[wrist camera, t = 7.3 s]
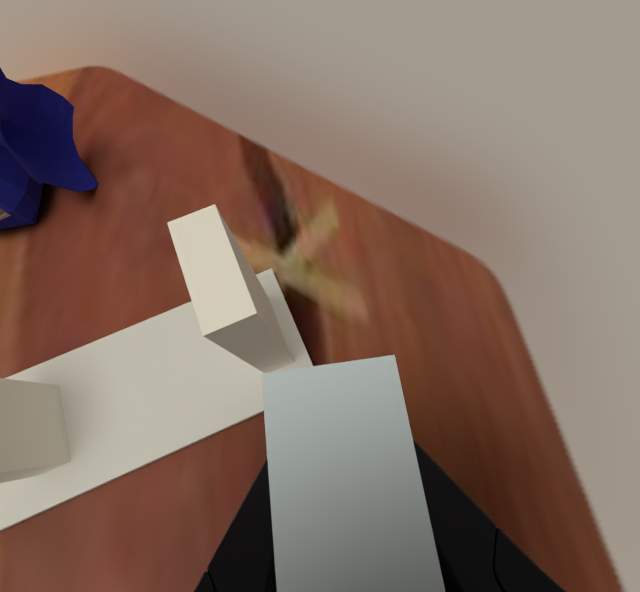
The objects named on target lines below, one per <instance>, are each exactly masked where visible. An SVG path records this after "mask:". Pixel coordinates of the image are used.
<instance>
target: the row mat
mask: <svg viewBox="0 0 640 592" xmlns="http://www.w3.org/2000/svg"><path fill="white" fill-rule="evenodd" d="M256 276H257V278H258V280H259V282H260V283H261V285H262V287H263V289H264V290H265V292H266V294H267V296H268V297H269V300H270V302H271V305H272V307H273V310H274V312H275V315H276V317H277V319H278V322H279V324H280V327H281V329H282V332H283V334H284V337H285V339H286V342H287V344H288V347H289V349H290V351H291V354H292V356H293V359H294V361H295V362H294V363H291V364H289V365H287V366H285V367H282V368H280V369H278V370H276V371H273V372H278V371H285V370H292V369H299V368H306V367H313V365H312V362H311V360H310V357H309V355H308V353H307V350H306V348H305V346H304V343H303V341H302V339H301V336H300V334H299V332H298V329H297V327H296V324H295V322H294V320H293V317H292V315H291V313H290V310H289V308H288V306H287V303H286V301H285V299H284V296H283V294H282V291H281V289H280V287H279V284H278V282H277V280H276V277H275V275H274V273H273V270H272V268H271V269H269V270H266V271H264V272H261V273H259V274H257V275H256ZM261 374H264V373H263V372H261V371H260V370H258V369H257V368H255V367H253V366H252V365H250V364H248V363H247V362H245V361H243V360H242V359H240V358H238V357H237V356H235V355H233V354H232V353H230V352H229V351H227V350H225V349H224V348H222V347H220V346H219V345H217V344H215V343H214V342H212V341H210V340H209V339H207V338H206V337H204V336H203V334H202V331H201V328H200V325H199V322H198V319H197V315H196V312H195V309H194V306H193V303H192V301H191V302H189V303H186V304H184V305H181V306H179V307H177V308H174V309H172V310H169V311H167V312H164V313H162V314H160V315H157V316H155V317H152V318H150V319H148V320H145V321H143V322H140V323H138V324H135V325H133V326H131V327H128V328H126V329H123V330H121V331H118V332H116V333H114V334H111V335H109V336H106V337H104V338H101V339H99V340H97V341H94V342H92V343H89V344H87V345H85V346H82V347H80V348H77V349H75V350H72V351H70V352H68V353H65V354H63V355H60V356H58V357H55V358H53V359H51V360H48V361H46V362H43V363H41V364H38V365H36V366H34V367H31V368H29V369H26V370H24V371H22V372H19V373H17V374H14V375H12V376H9V377H7V378H5V379H11V380H20V381H28V382H37V383H45V384H54V385H59V388H60V394H61V401H62V408H63V414H64V421H65V428H66V435H67V441H68V448H69V455H70V461H71V462H68V463H66V464H64V465H62V466H59V467H57V468H55V469H53V470H50V471H48V472H46V473H44V474H41V475H39V476H35V477H30V478H25V479H19V480H14V481H9V482H4V483H0V531H2V530H4V529H7V528H9V527H11V526H13V525H15V524H18V523H20V522H22V521H24V520H26V519H29V518H31V517H33V516H35V515H37V514H40V513H42V512H44V511H46V510H48V509H51V508H53V507H55V506H57V505H59V504H62V503H64V502H66V501H68V500H70V499H73V498H75V497H77V496H79V495H81V494H84V493H86V492H88V491H90V490H92V489H95V488H97V487H99V486H101V485H103V484H106V483H108V482H110V481H112V480H114V479H117V478H119V477H121V476H123V475H125V474H128V473H130V472H132V471H134V470H136V469H139V468H141V467H143V466H145V465H147V464H150V463H152V462H154V461H156V460H158V459H161V458H163V457H165V456H167V455H169V454H172V453H174V452H176V451H178V450H180V449H183V448H185V447H187V446H189V445H191V444H194V443H196V442H198V441H200V440H202V439H205V438H207V437H209V436H211V435H213V434H216V433H218V432H220V431H222V430H224V429H227V428H229V427H231V426H233V425H235V424H238V423H240V422H242V421H244V420H246V419H249V418H251V417H253V416H255V415H257V414H260V413H262V412H264V404H263V390H262V376H261Z"/></svg>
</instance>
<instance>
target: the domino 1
mask: <svg viewBox="0 0 640 592" xmlns="http://www.w3.org/2000/svg"><path fill="white" fill-rule="evenodd" d="M68 462H71V461H70V455H69V448H68V441H67V435H66V428H65V421H64V414H63V408H62V401H61V394H60V388H59V385H54V384H45V383H37V382H28V381H20V380H11V379H3V378H0V483H4V482H9V481H14V480H19V479H25V478H30V477H35V476H39V475H41V474H44V473H46V472H48V471H50V470H53V469H55V468H57V467H59V466H62V465H64V464H66V463H68Z"/></svg>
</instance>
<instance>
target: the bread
mask: <svg viewBox="0 0 640 592" xmlns="http://www.w3.org/2000/svg"><path fill="white" fill-rule="evenodd" d="M73 111H74V106H72V105H71V104H70V103H69V102H68V101H67V100H66V99H65V98H64V97H63V96H61V95H60V94H58V93H56V92H54V91H53V90H51V89H49V88H47V87H46V86H44V85H42V84H19V83H17V82H15V81H12V80H9V79H7V78H6V76H5V75H4V73H3V72H2V70H1V68H0V229H4V228H11V227H18V226H25V225H30V224H36V220H37V215H38V212H39V206H40V201H41V196H42V190H43V185H44V183H46V184H50V185H54V186H57V187H61V188H65V189H68V190H72V191H76V192H82V191H87V190H92V189H94V188H95V187H96V186H97V185H98V184H99V183H98V182H97V181H96V180H95V178H94V177H93V176H92V175H91V173H90V172H89V171H88V169H87V168H86V166H85V165H84V163H83V162H82V160H81V159H80V157H79V156H78V153H77V150H76V147H75V144H74V141H73Z"/></svg>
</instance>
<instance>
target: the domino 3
mask: <svg viewBox="0 0 640 592" xmlns="http://www.w3.org/2000/svg"><path fill="white" fill-rule="evenodd" d="M261 376H262V390H263V404H264V418H265V432H266V446H267V460H268V475H269V489H270V503H271V517H272V531H273V545H274V559H275V573H276V587H277V592H445V587H444V583H443V578H442V573H441V569H440V564H439V559H438V555H437V550H436V545H435V541H434V536H433V531H432V527H431V522H430V517H429V513H428V508H427V503H426V499H425V494H424V489H423V485H422V480H421V475H420V471H419V466H418V461H417V457H416V452H415V448H414V443H413V438H412V434H411V429H410V424H409V420H408V415H407V410H406V406H405V401H404V396H403V392H402V387H401V382H400V378H399V373H398V368H397V364H396V359H395V355H390V356H383V357H376V358H369V359H362V360H355V361H348V362H341V363H334V364H327V365H320V366H313V367H306V368H299V369H292V370H285V371H278V372H271V373H264V374H261Z"/></svg>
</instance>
